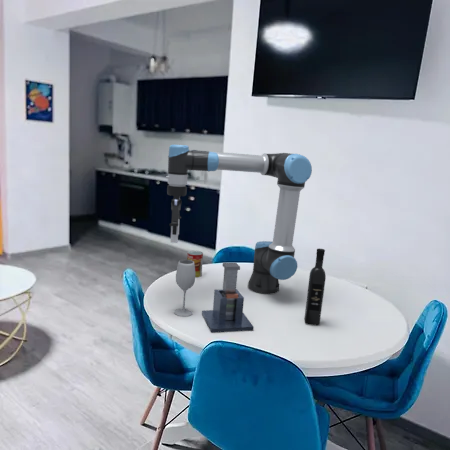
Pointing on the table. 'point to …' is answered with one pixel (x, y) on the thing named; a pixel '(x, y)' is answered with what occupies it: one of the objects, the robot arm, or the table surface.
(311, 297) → the wine bottle
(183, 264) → the wineglass
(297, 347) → the table surface
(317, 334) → the table surface
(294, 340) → the table surface
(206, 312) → the stand
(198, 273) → the canned food
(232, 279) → the column
